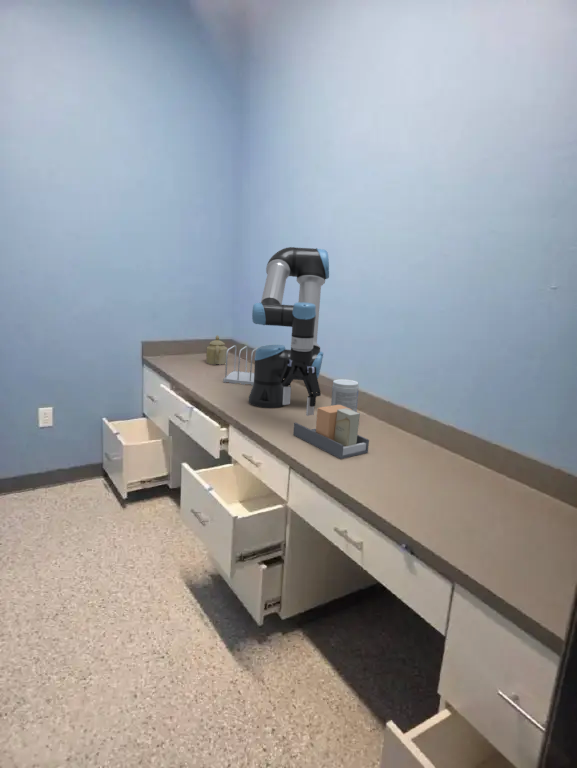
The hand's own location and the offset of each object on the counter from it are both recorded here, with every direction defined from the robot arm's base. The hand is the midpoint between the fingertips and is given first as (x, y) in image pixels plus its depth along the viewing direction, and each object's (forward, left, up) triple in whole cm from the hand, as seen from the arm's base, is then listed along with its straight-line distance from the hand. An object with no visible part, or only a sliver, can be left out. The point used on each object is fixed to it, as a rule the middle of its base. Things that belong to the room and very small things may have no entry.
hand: (297, 409), depth 182 cm
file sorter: (-64, +23, -7) cm, 68 cm away
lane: (+18, 0, -7) cm, 19 cm away
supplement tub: (+1, +21, -7) cm, 22 cm away
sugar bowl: (-104, +26, -7) cm, 107 cm away
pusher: (+19, 0, -5) cm, 20 cm away
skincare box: (+25, 0, -6) cm, 26 cm away
